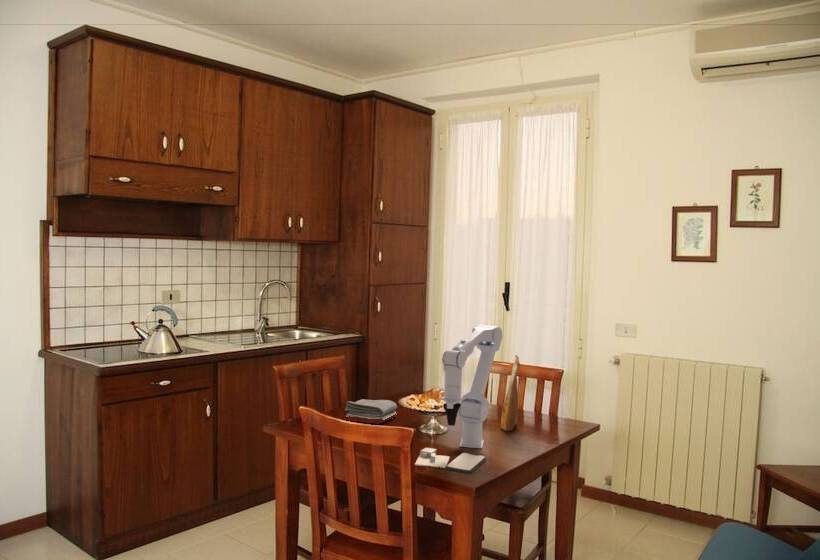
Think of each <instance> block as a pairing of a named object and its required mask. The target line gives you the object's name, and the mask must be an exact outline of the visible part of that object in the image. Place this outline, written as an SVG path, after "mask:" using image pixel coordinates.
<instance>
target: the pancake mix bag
mask: <svg viewBox="0 0 820 560" xmlns="http://www.w3.org/2000/svg"><path fill="white" fill-rule="evenodd" d="M514 357H515V358H514V363H513V366H512V369H511V376H510V381H509V384H508V388H507V392H506V394H505V395H506V396H505V399H504V402H503V405H502V411H501V419H500V428H501V430H504V431H505V432H509V431H510V430H511V431H513V430H514V429H515V426H516V423H517V417H518V407H519V405H518V403H519V399H518V398H519V396H518V392H519V391H518V378H517V376H518V375H517V374H518V372H519V370H520V366H521V362H520V361H519V360H520V359H519V358H520V357H519V356H518V355H517V354H516V355H515V356H514Z"/></svg>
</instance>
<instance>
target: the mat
mask: <svg viewBox="0 0 820 560" xmlns="http://www.w3.org/2000/svg"><path fill="white" fill-rule="evenodd" d="M450 458H451V456H448V455H440V454H439V455H438V454H436V455H435V462H431V458H429V457H424V456H420V455H418V457H417V459H416V460H415V461H416V462H415V463H414V466H419V467H429V466H430V468H431V467H432V468H439V467H440V469H446V465H448V464H449V461H450Z"/></svg>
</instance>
